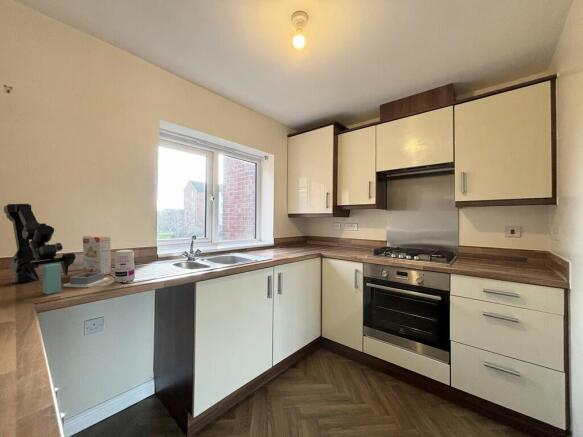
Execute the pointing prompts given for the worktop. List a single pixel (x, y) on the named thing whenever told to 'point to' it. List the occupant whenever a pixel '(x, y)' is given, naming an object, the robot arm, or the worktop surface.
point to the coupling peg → (51, 278)
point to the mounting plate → (86, 280)
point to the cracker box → (97, 254)
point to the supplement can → (124, 265)
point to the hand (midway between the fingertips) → (53, 277)
